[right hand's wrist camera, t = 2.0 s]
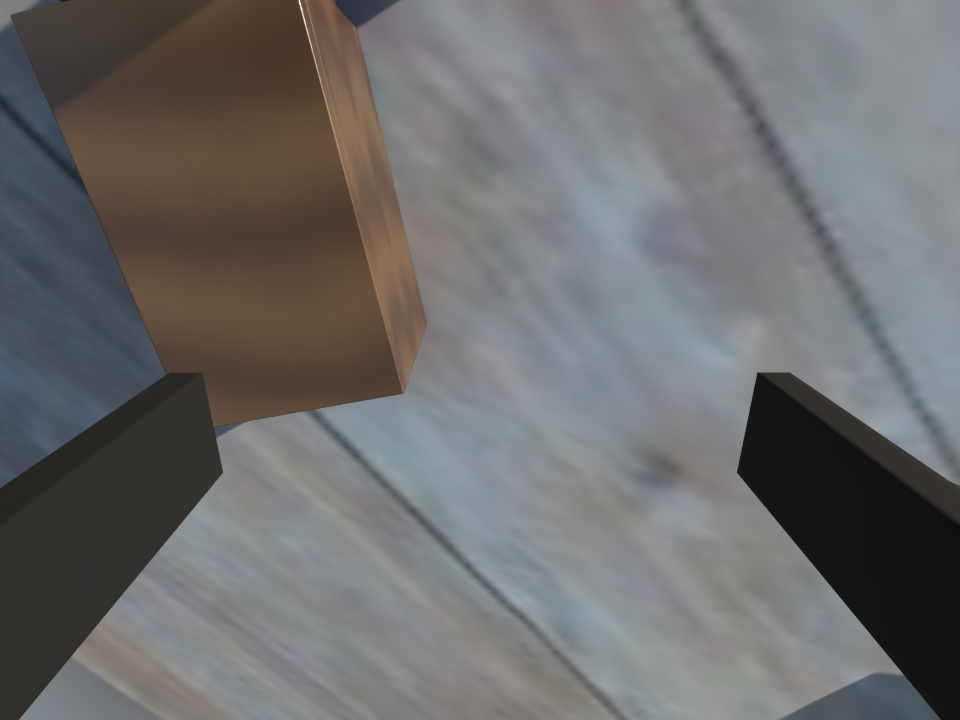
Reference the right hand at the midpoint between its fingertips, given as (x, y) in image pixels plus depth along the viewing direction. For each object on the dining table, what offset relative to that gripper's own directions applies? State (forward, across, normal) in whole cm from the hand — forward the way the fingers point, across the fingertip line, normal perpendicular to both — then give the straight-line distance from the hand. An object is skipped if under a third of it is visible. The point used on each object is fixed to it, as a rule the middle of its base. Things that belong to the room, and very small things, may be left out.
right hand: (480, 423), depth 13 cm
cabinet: (+21, +10, -3) cm, 24 cm away
